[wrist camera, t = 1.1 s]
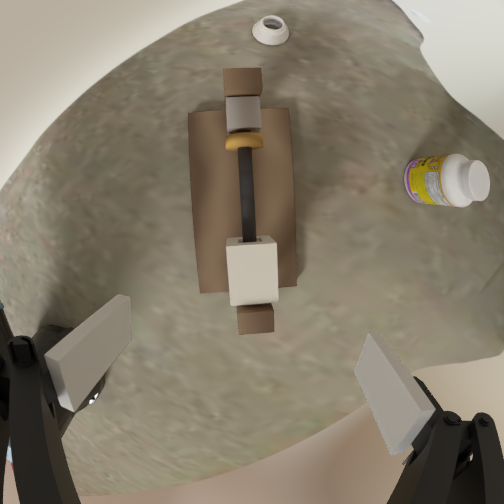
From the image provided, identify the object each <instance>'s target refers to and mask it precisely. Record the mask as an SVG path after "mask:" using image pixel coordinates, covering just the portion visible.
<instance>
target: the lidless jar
mask: <svg viewBox="0 0 504 504" xmlns="http://www.w3.org/2000/svg"><path fill="white" fill-rule="evenodd" d="M268 24H271V25H275V26H277V27H279V28H280V29H277V30H275V29H273V28H267V27H266V26H265V25H268ZM252 32H253V36H254V37H255V38H256V39H257V40H258V41H260V42H261V43H263V44H267V45H279V44H281V43H284V42H285V41H286V40H287V39H288V36H289V30H288V27H287V26H286V24H285V23H284V21H283V20H282V19H281V18H280V17H278V16H273V15H270V16H266V17H264V18H262V19H261V20H259V21H258V22H257V23H255V24H254V26H253V29H252Z"/></svg>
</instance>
